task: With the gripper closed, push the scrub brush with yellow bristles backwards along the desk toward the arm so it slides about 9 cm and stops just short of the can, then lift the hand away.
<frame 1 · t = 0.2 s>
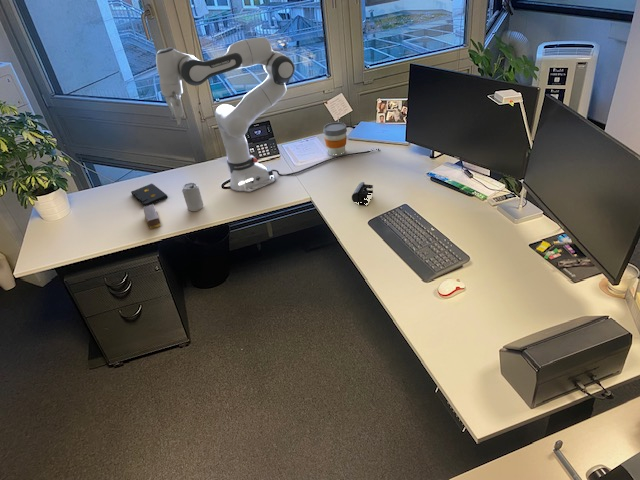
hand: (177, 121, 204), 39 cm above the table, tool pointing down, fingers open, 8 cm apart
can: (196, 208, 219), on the table
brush: (153, 220, 213), on the table
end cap: (362, 200, 210), on the table
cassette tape: (149, 196, 232), on the table
reusable coffee cup: (336, 152, 254), on the table
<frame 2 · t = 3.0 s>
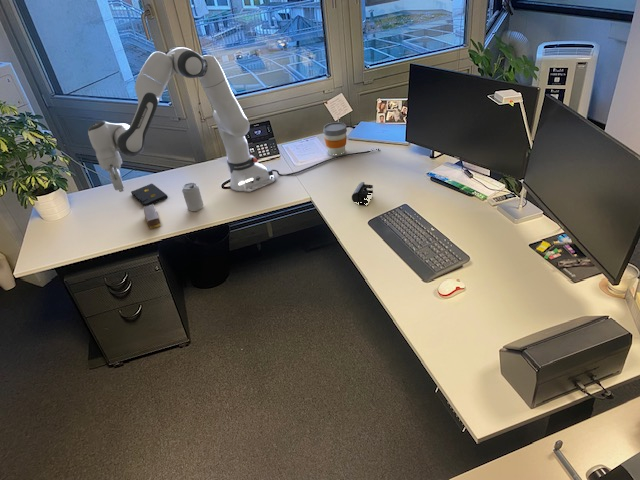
hand: (121, 190, 199), 19 cm above the table, tool pointing down, fingers closed
nothing on the table moved.
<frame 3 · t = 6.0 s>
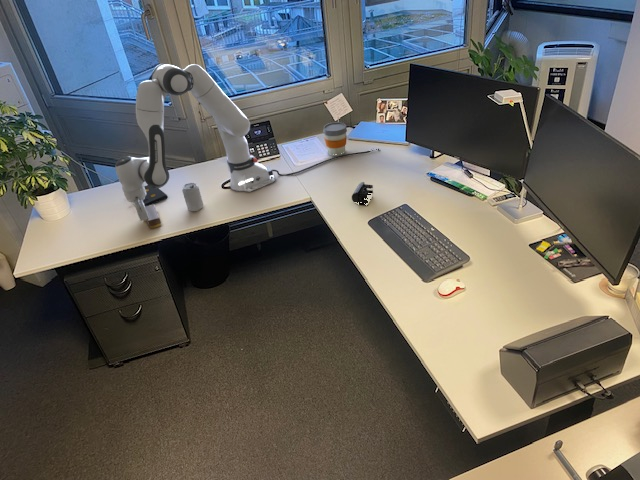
hand: (145, 219, 210), 2 cm above the table, tool pointing down, fingers closed, pressing on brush
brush: (153, 220, 213), on the table, touching gripper
everything else where it was.
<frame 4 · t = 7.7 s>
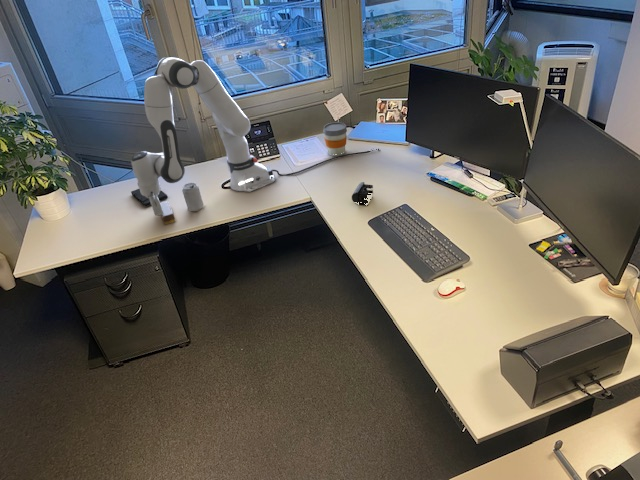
hand: (158, 214, 212), 2 cm above the table, tool pointing down, fingers closed, pressing on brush
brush: (167, 216, 214), on the table, touching gripper
everything else where it was.
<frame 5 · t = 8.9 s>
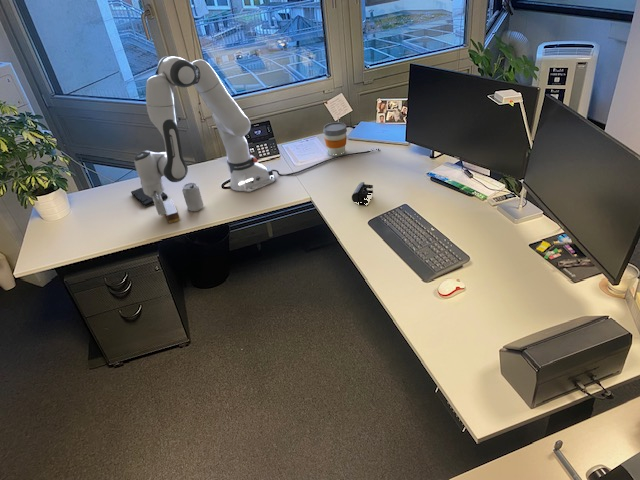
hand: (162, 213, 213), 2 cm above the table, tool pointing down, fingers closed
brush: (171, 215, 215), on the table
everything else where it was.
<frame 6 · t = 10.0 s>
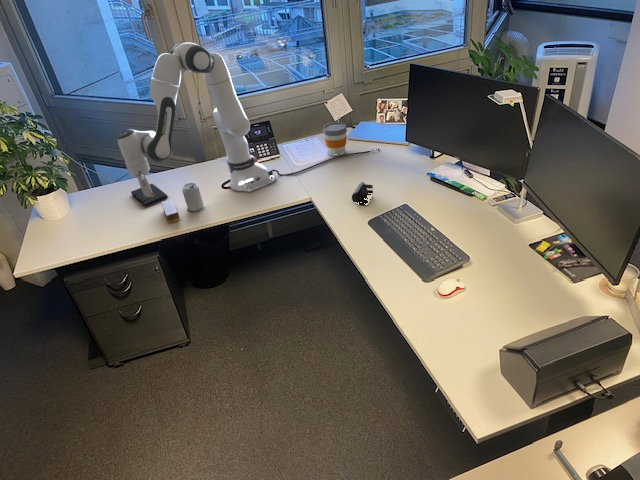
hand: (149, 195, 206), 13 cm above the table, tool pointing down, fingers closed
nothing on the table moved.
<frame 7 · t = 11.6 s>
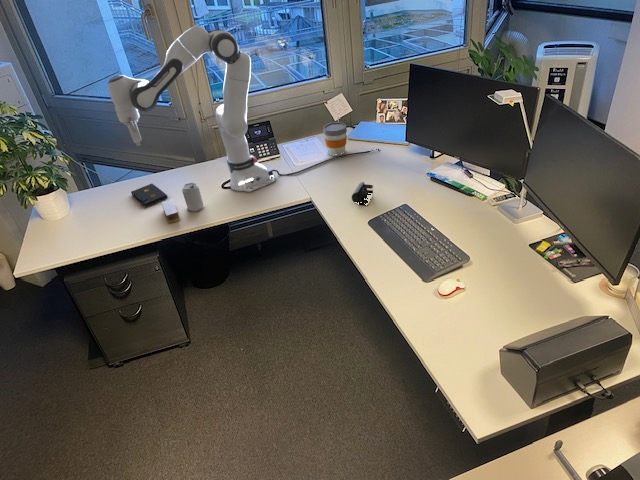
hand: (138, 144, 207), 31 cm above the table, tool pointing down, fingers closed
nothing on the table moved.
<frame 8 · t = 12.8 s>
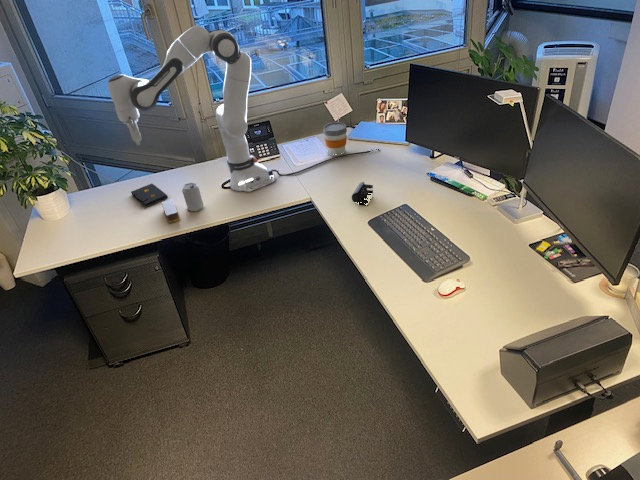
hand: (138, 144, 207), 31 cm above the table, tool pointing down, fingers closed
nothing on the table moved.
at the end: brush 11.5 cm from the can (horizontally); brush moved 8.5 cm from its start; can moved 0.2 cm from its start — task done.
